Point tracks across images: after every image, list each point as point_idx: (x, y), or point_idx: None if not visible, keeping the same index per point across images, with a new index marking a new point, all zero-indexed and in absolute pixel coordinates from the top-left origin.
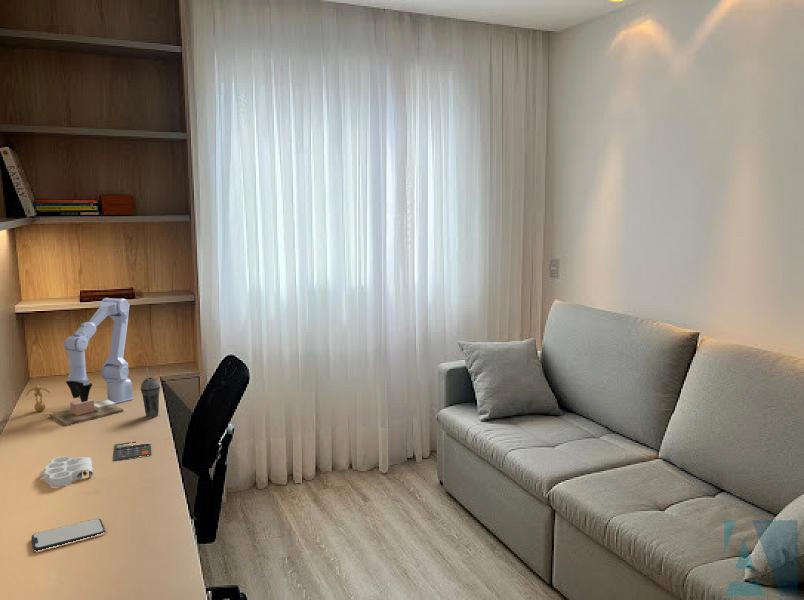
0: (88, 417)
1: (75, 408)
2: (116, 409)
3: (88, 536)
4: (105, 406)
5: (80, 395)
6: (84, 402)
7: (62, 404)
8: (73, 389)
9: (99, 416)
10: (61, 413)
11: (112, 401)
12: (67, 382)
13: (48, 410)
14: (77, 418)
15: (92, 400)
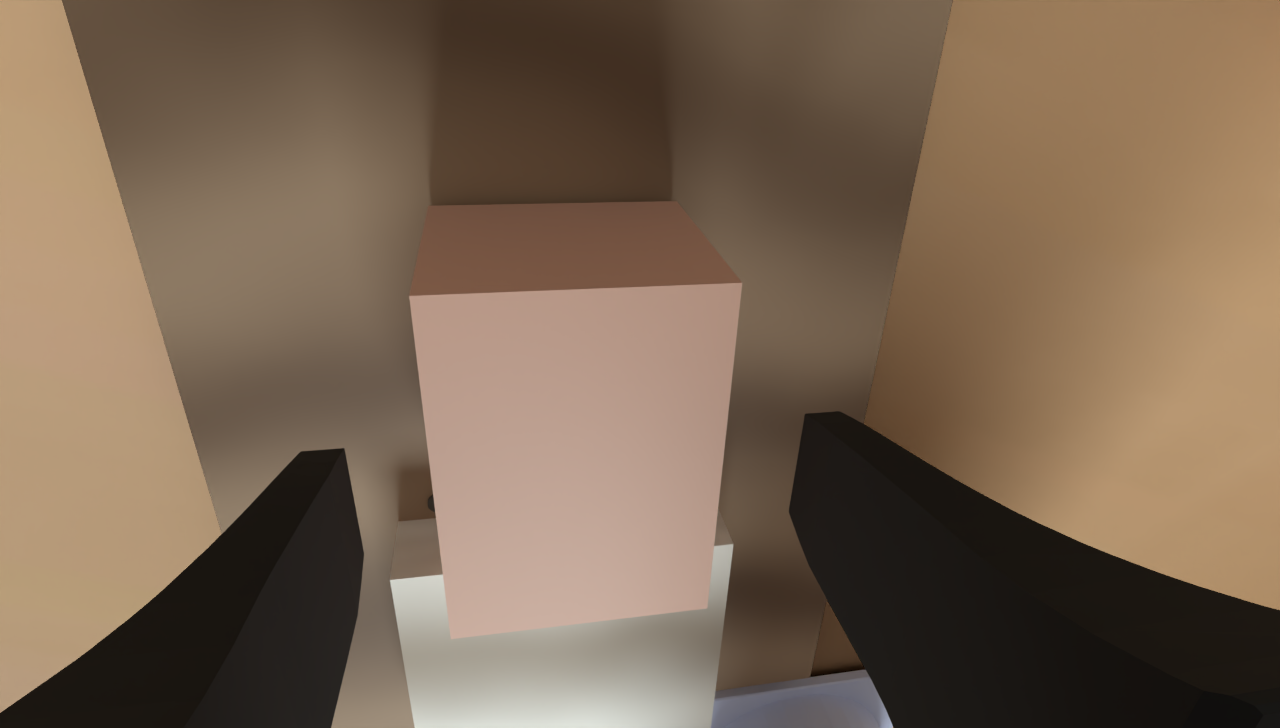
0: (192, 325)
1: (436, 255)
2: (340, 697)
3: None
4: (403, 652)
5: (203, 569)
6: (437, 488)
7: (1276, 304)
8: (933, 582)
9: (211, 470)
10: (838, 78)
11: (741, 723)
12: (1265, 713)
13: (1271, 46)
14: (270, 162)
15: (463, 623)
